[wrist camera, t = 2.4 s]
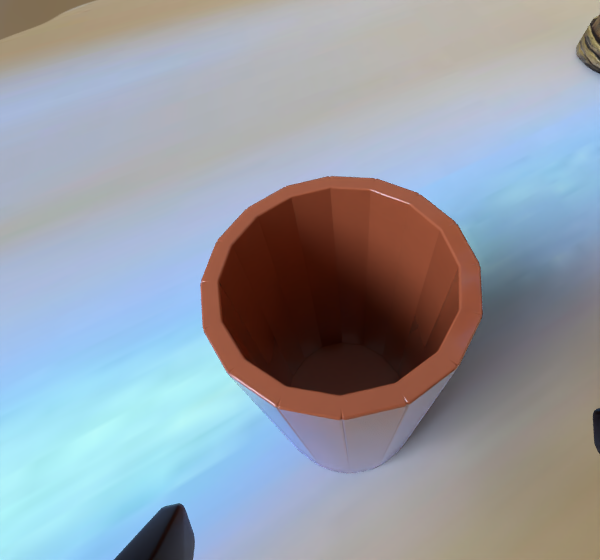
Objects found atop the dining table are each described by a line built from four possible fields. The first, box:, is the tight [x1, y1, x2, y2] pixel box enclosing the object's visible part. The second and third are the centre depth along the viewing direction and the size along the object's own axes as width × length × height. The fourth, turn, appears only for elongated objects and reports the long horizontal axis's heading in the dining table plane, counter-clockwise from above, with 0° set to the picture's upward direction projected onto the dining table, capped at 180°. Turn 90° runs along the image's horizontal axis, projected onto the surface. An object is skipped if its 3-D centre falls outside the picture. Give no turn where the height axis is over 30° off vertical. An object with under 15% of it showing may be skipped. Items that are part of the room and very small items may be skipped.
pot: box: [200, 176, 483, 473], centre depth 14 cm, size 7×7×12 cm
